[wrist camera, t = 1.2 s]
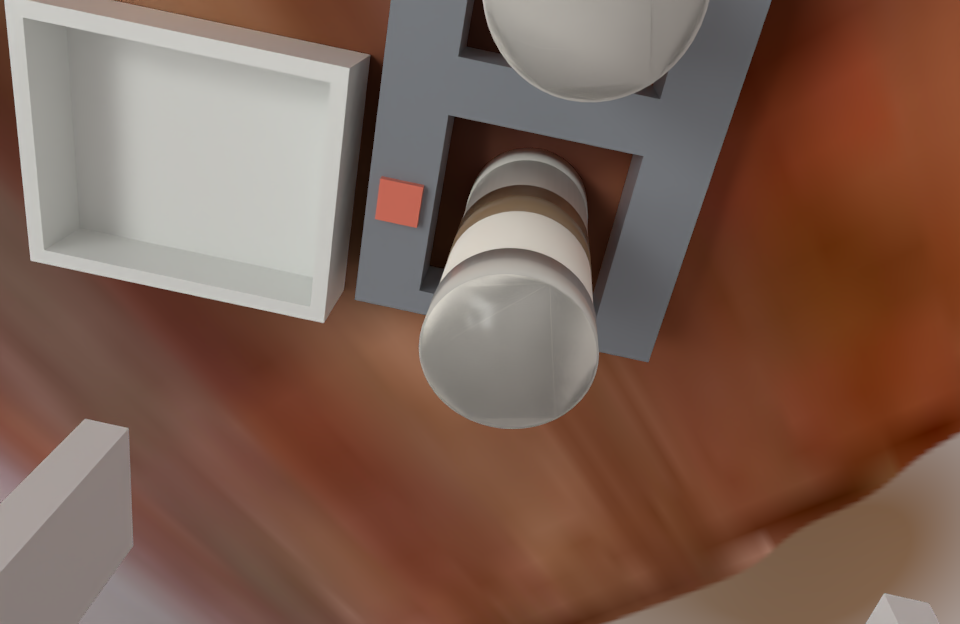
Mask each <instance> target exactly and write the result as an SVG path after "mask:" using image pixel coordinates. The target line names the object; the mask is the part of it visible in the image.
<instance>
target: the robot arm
mask: <svg viewBox="0 0 960 624" xmlns="http://www.w3.org/2000/svg"><path fill="white" fill-rule="evenodd" d="M132 547H133V527H132V501H131V475H130V449H129V428H125V427H121V426H116V425H112V424H107V423H102V422H98V421H93V420H89V419H84V420H83V421H82V422H81V423H80V424H79V425H78V426H77V427H76V428H75V429H74V430H73V431H72V432H71V433H70V434H69V435H68V436H67V437H66V438H65V439H64V440H63V441H62V442H61V443H60V444H59V445H58V446H57V447H56V448H55V449H54V450H53V451H52V452H51V453H50V454H49V455H48V456H47V457H46V458H45V459H44V460H43V461H42V462H41V463H40V464H39V465H38V466H37V467H36V468H35V469H34V470H33V471H32V472H31V473H30V474H29V475H28V476H27V477H26V478H25V479H24V480H23V481H22V482H21V483H20V484H19V485H18V486H17V487H16V488H15V489H14V490H13V491H12V492H11V493H10V495H9V496H8V497H7V498H6V499H5V500H4V501H3V502H2V503H1V504H0V624H78V622H79V621H80V620H81V618H82V617H83V615H84V614H85V613H86V611H87V610H88V608H89V607H90V606H91V604H92V603H93V601H94V600H95V599H96V597H97V596H98V594H99V593H100V592H101V590H102V589H103V587H104V586H105V585H106V583H107V582H108V580H109V579H110V578H111V576H112V575H113V573H114V572H115V571H116V569H117V568H118V566H119V565H120V564H121V562H122V561H123V559H124V558H125V557H126V555H127V554H128V552H129V551H130V550H131V548H132ZM866 624H940V623H939V621H938V619H937V618H936V616H935V614H934V612H933V610H932V608H931V606H930V604H929V603H927V602H922V601H918V600H913V599H908V598H904V597H899V596H894V595H890V594H886V593H884V595H883V596H882V598H881V599H880V601H879V602H878V604H877V606H876V608H875V609H874V611H873V612H872V614H871V616H870V617H869V619H868V620H867V622H866Z"/></svg>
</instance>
